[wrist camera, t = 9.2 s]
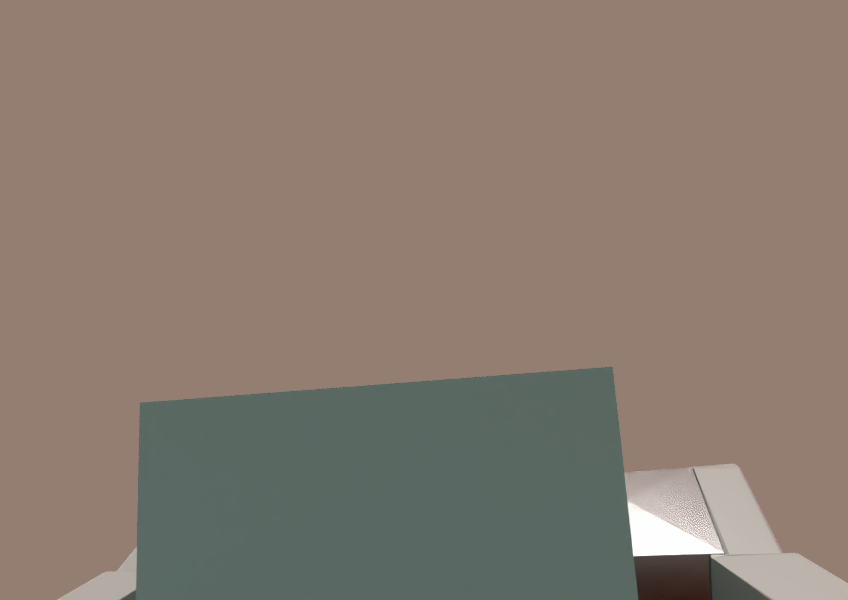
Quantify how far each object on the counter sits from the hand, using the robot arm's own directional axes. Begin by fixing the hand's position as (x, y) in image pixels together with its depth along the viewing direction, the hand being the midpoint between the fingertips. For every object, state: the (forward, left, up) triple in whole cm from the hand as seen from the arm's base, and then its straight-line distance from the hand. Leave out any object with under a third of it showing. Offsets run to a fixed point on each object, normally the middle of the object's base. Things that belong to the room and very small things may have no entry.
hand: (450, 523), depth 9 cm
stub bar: (0, +6, -2) cm, 7 cm away
